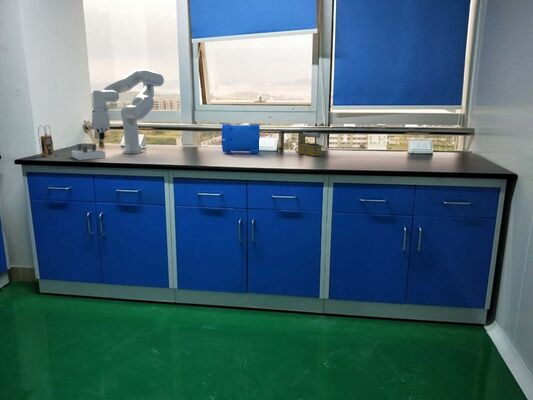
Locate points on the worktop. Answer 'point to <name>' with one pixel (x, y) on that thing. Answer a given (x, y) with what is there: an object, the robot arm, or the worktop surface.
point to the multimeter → (46, 145)
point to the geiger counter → (309, 145)
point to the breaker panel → (88, 154)
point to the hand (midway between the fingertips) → (102, 139)
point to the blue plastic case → (240, 138)
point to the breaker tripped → (93, 146)
